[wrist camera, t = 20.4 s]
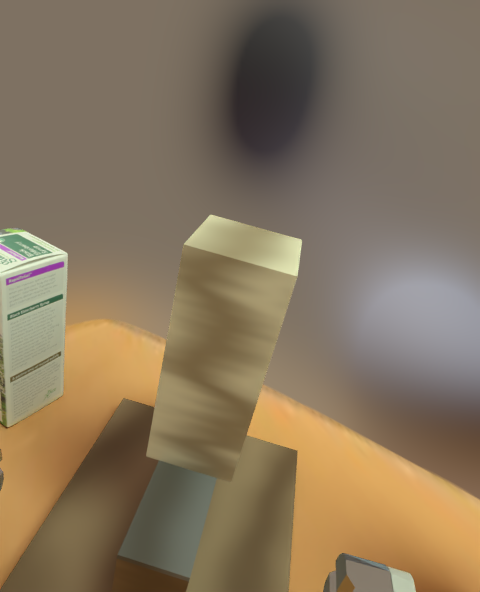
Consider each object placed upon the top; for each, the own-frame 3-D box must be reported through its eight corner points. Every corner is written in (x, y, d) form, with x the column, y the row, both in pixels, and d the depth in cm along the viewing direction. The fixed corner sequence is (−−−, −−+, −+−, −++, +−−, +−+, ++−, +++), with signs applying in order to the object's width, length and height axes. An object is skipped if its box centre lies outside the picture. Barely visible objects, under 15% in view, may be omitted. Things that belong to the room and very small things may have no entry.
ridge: (292, 462, 38) (324, 384, 34) (272, 735, 22) (328, 649, 18) (122, 410, 39) (133, 328, 34) (-19, 636, 22) (-30, 532, 18)
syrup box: (66, 395, 39) (73, 249, 32) (5, 432, 34) (-1, 269, 27) (24, 366, 41) (22, 223, 34) (-40, 397, 36) (-55, 238, 29)
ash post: (245, 421, 28) (301, 239, 22) (231, 482, 24) (297, 276, 18) (173, 399, 28) (210, 214, 22) (145, 456, 24) (183, 244, 18)
